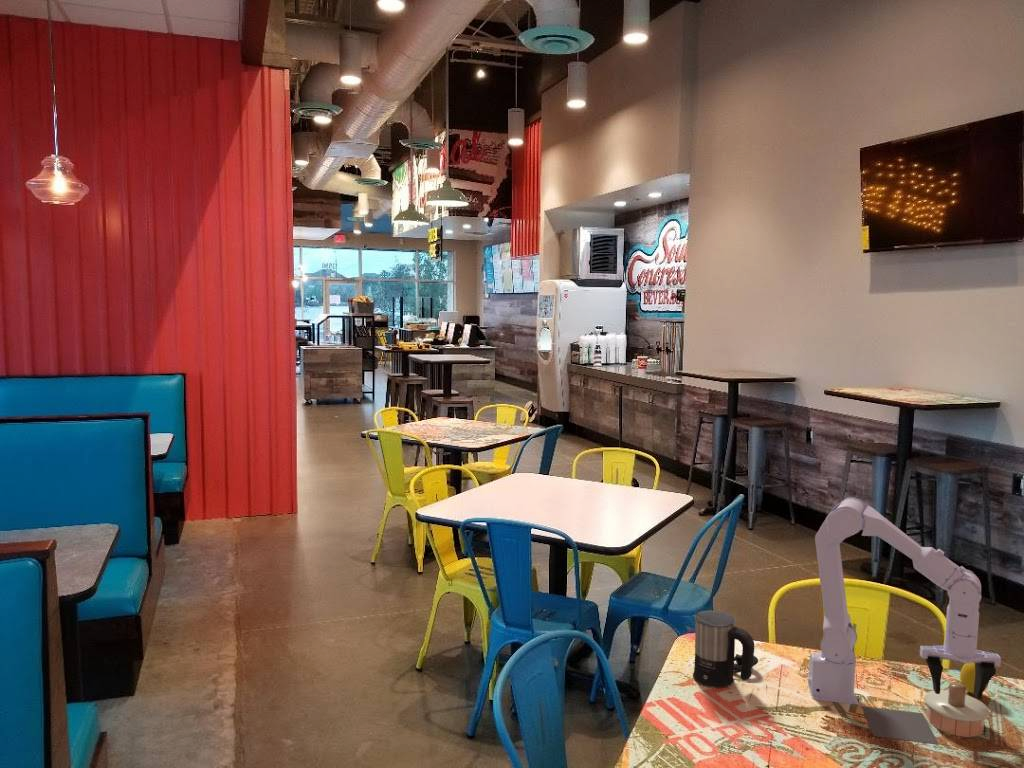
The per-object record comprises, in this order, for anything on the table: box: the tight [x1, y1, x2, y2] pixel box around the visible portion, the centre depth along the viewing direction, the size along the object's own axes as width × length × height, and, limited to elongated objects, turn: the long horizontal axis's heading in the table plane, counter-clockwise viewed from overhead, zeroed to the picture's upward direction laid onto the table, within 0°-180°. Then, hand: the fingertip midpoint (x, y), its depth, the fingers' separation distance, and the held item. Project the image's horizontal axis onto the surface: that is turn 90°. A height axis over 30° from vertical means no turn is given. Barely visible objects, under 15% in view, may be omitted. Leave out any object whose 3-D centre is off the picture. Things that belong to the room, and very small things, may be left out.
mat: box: [861, 705, 940, 745], centre depth 161 cm, size 12×12×1 cm
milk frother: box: [692, 609, 759, 689], centre depth 182 cm, size 14×16×15 cm
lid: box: [923, 681, 990, 722], centre depth 161 cm, size 12×12×5 cm
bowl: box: [926, 705, 985, 738], centre depth 162 cm, size 10×10×4 cm
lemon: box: [959, 662, 990, 695], centre depth 174 cm, size 6×6×8 cm
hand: (956, 694), depth 161 cm, fingers open, 7 cm apart
